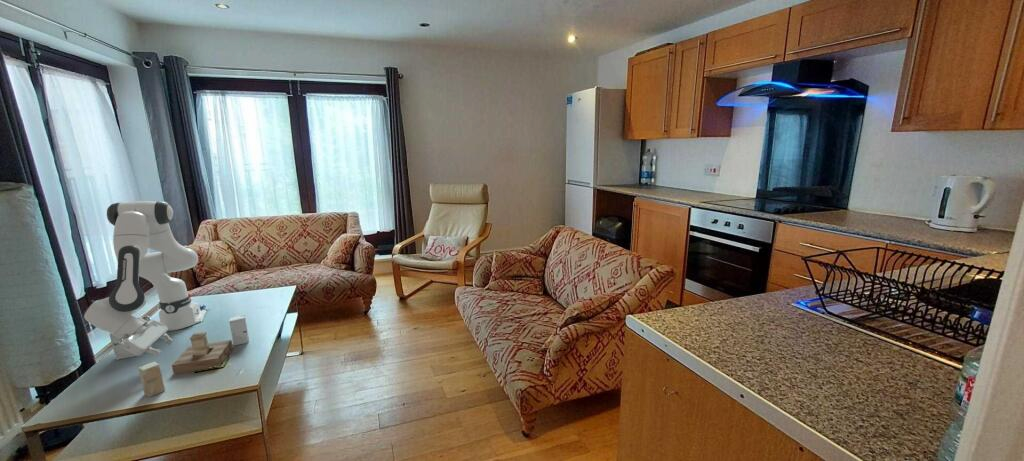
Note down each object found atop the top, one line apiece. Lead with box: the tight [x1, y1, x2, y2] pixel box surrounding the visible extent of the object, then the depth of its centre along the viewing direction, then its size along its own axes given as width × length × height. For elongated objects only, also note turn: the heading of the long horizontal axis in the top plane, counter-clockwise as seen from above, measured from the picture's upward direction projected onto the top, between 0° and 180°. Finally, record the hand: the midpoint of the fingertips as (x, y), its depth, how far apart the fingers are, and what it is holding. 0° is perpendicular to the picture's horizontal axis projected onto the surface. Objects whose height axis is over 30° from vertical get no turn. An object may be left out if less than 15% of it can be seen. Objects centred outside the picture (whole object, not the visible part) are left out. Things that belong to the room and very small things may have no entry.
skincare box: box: [228, 314, 250, 346], centre depth 187 cm, size 6×4×12 cm
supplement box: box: [109, 332, 136, 361], centre depth 180 cm, size 7×7×13 cm
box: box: [137, 361, 166, 398], centre depth 152 cm, size 5×4×11 cm
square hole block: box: [171, 339, 234, 375], centre depth 173 cm, size 16×16×4 cm
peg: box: [189, 331, 210, 356], centre depth 173 cm, size 4×4×12 cm
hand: (166, 347), depth 169 cm, fingers open, 8 cm apart
